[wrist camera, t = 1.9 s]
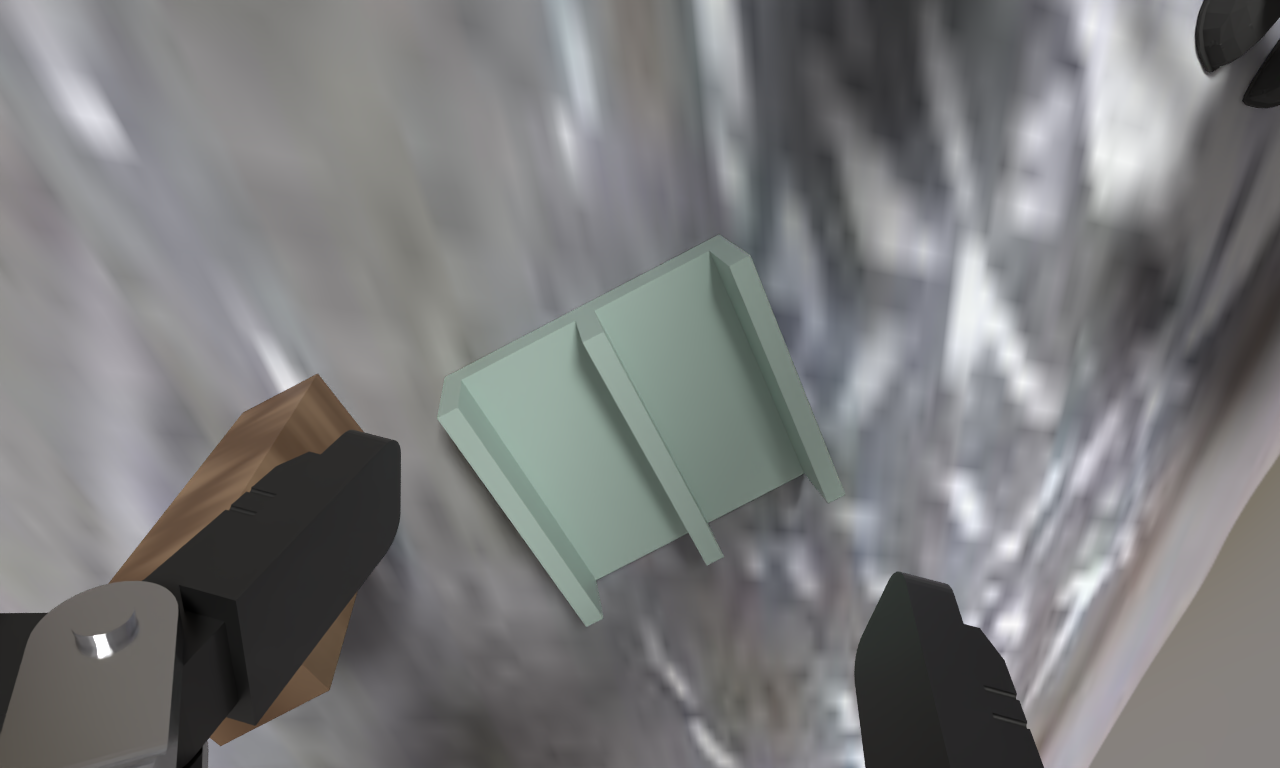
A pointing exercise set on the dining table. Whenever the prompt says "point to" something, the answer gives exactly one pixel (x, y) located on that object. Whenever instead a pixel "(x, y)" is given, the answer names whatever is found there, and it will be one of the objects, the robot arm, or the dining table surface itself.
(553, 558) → the dish rack
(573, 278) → the dining table surface
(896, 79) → the dining table surface
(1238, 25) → the toy robot
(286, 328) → the dining table surface
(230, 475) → the wooden block
